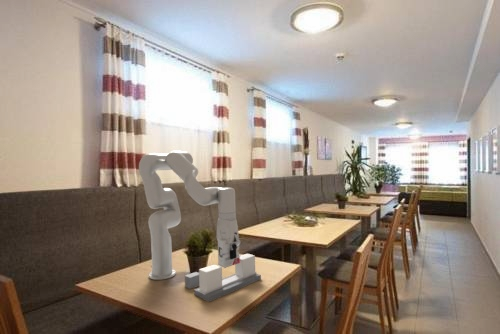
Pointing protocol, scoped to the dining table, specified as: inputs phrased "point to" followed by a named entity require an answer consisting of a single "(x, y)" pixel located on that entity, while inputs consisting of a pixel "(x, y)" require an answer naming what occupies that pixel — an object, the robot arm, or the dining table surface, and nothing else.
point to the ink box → (226, 254)
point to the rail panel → (226, 279)
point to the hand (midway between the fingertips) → (228, 256)
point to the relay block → (192, 280)
